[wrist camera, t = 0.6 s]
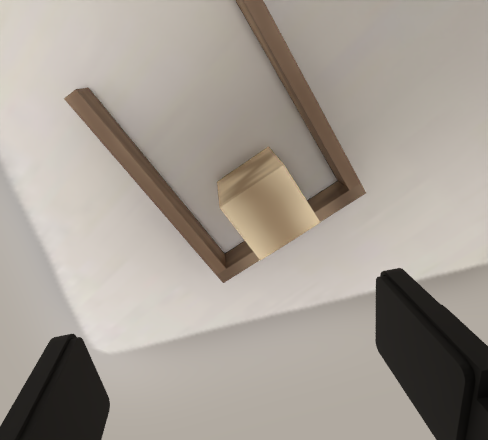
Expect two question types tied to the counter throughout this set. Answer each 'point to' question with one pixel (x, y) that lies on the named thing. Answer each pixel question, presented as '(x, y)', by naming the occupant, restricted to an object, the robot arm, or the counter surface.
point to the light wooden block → (265, 204)
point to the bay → (169, 202)
